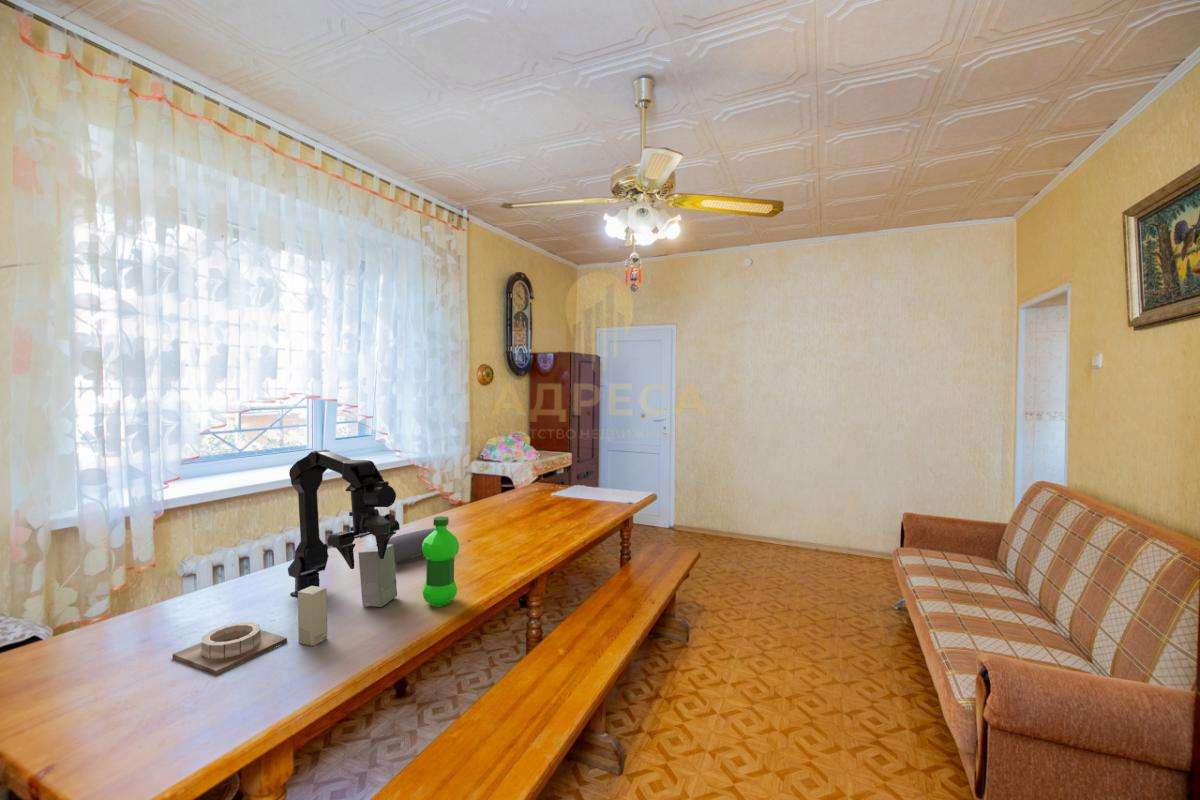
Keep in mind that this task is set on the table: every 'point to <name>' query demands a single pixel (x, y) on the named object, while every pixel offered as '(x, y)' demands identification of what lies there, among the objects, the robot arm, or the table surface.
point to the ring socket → (229, 647)
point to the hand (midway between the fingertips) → (367, 563)
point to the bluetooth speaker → (409, 546)
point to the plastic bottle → (440, 564)
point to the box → (312, 615)
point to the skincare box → (377, 576)
